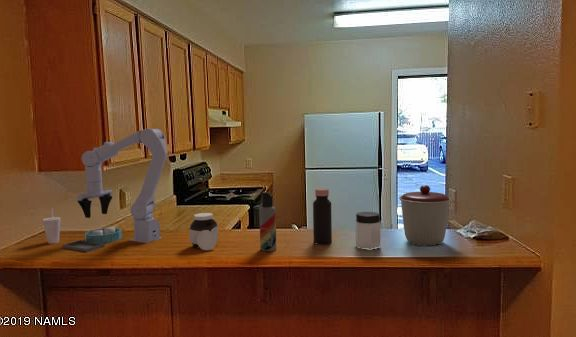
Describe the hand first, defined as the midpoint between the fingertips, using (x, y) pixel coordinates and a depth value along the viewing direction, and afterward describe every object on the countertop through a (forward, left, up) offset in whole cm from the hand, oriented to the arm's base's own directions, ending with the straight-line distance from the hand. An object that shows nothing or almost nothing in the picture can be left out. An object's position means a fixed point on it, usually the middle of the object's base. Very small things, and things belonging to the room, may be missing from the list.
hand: (96, 215), depth 168 cm
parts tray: (-5, +10, -10) cm, 15 cm away
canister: (-117, -47, -10) cm, 126 cm away
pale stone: (-2, -4, -9) cm, 10 cm away
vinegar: (-83, -32, -10) cm, 90 cm away
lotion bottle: (-69, -16, -10) cm, 72 cm away
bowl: (-2, -1, -10) cm, 10 cm away
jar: (-100, -33, -10) cm, 106 cm away
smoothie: (+13, +10, -10) cm, 19 cm away
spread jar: (-46, -10, -10) cm, 48 cm away
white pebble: (-2, +2, -9) cm, 9 cm away
